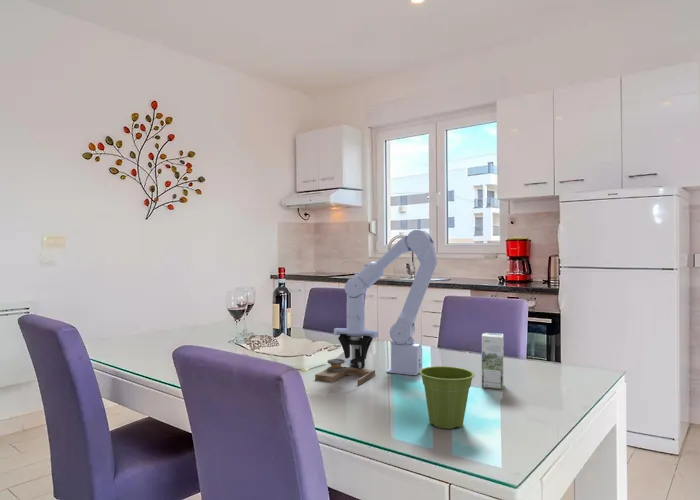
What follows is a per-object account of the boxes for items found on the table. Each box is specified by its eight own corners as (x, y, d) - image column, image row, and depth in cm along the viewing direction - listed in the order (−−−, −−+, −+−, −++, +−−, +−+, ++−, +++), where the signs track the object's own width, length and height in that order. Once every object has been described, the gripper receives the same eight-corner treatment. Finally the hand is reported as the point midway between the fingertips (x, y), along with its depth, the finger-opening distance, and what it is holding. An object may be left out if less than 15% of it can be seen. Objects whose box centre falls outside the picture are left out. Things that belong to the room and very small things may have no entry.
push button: (353, 370, 154) (353, 338, 154) (342, 368, 158) (341, 336, 158) (368, 367, 159) (368, 335, 159) (357, 364, 163) (356, 334, 163)
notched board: (375, 375, 149) (375, 361, 149) (359, 385, 138) (359, 370, 138) (333, 370, 155) (333, 357, 155) (315, 379, 144) (315, 365, 144)
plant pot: (482, 433, 103) (482, 378, 103) (426, 434, 102) (426, 379, 102) (464, 413, 115) (464, 365, 115) (414, 415, 114) (414, 366, 114)
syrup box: (503, 384, 139) (503, 332, 139) (503, 390, 134) (503, 336, 134) (482, 382, 141) (482, 331, 141) (481, 388, 136) (481, 335, 136)
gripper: (329, 316, 158) (329, 359, 158) (372, 319, 152) (372, 363, 152) (339, 313, 164) (339, 354, 164) (380, 316, 158) (380, 358, 158)
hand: (355, 358), depth 159 cm, fingers closed on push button, 5 cm apart
